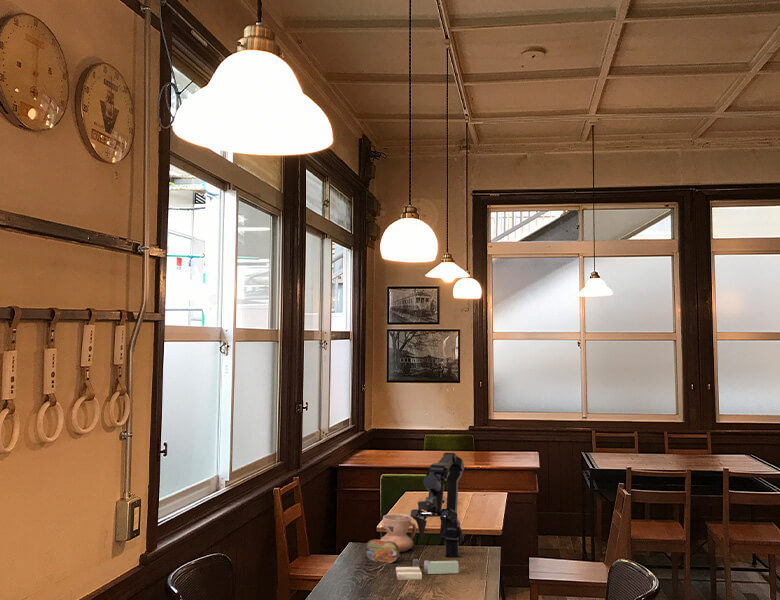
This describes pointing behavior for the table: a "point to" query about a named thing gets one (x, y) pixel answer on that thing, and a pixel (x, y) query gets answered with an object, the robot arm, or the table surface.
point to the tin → (382, 551)
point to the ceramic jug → (398, 530)
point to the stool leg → (440, 567)
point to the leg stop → (415, 563)
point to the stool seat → (408, 573)
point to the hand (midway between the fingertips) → (431, 537)
